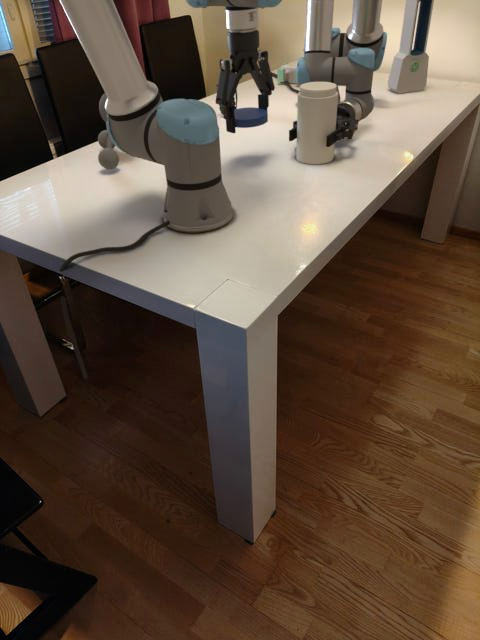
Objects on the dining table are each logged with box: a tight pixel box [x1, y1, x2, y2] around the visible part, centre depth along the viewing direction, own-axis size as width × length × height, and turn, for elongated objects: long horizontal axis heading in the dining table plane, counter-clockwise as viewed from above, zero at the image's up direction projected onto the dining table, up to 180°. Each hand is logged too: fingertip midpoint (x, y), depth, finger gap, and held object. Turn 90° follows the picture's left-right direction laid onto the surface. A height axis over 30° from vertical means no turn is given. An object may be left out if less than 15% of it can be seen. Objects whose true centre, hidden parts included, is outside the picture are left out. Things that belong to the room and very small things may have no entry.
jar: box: [295, 82, 338, 165], centre depth 128 cm, size 10×10×18 cm
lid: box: [234, 106, 269, 129], centre depth 126 cm, size 11×11×2 cm
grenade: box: [215, 83, 238, 115], centre depth 166 cm, size 7×6×10 cm
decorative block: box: [276, 59, 299, 85], centre depth 205 cm, size 26×6×20 cm
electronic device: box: [387, 0, 435, 94], centre depth 176 cm, size 12×8×30 cm, turn 105°
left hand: (247, 126), depth 128 cm, fingers closed on lid, 11 cm apart
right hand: (308, 138), depth 127 cm, fingers closed on jar, 10 cm apart
